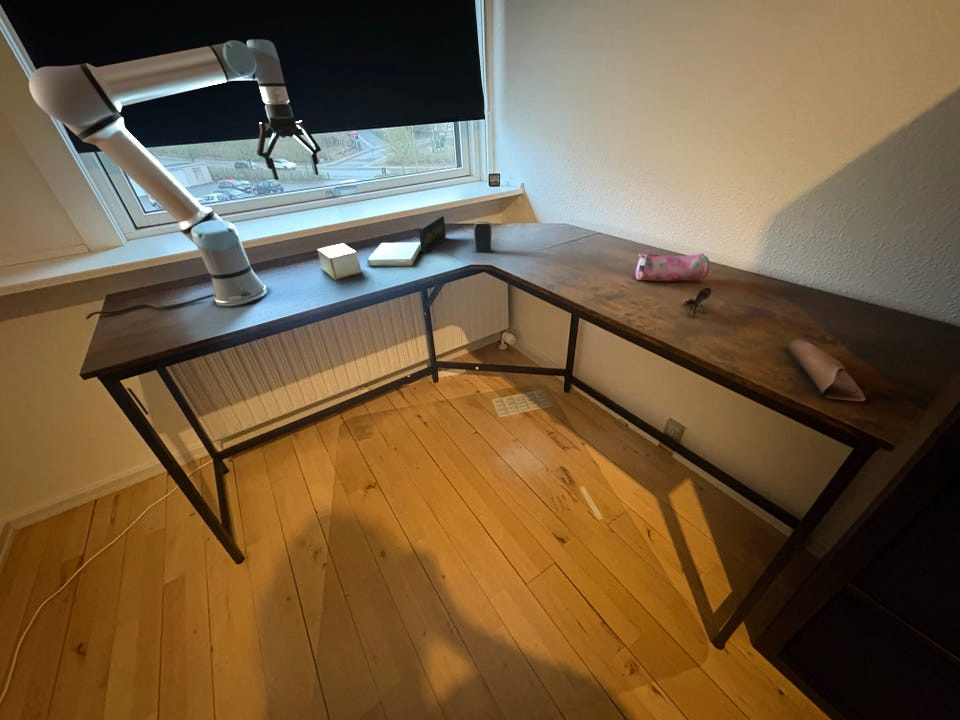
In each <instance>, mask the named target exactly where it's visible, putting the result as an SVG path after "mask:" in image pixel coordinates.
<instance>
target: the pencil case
mask: <svg viewBox="0 0 960 720" xmlns="http://www.w3.org/2000/svg"><path fill="white" fill-rule="evenodd" d="M637 256H638V262H637V265H636V269H635V279H636V280H638V281H654V282H678V281H687V282H691V281H694V282H699V283H702V282H703V281H704V280H705V279H706V278H707V276H708V274H709V271H710V260H709V257H708V256H707V255H705V254H704V253H697V254H690V255H669V254H668V255H666V254H658V253H652V252H648V253H646V252H645V253H638V254H637Z"/></svg>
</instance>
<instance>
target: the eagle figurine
mask: <svg viewBox="0 0 960 720" xmlns="http://www.w3.org/2000/svg"><path fill="white" fill-rule="evenodd" d="M711 294H712V289H711V287H705V288H703V289H701V290H700V291H698V292H697V294H696V296H695V298H693V297H691V298H687V299H685V300H683V301H682V305H683V306H685V305H688V306H689V307H690V308H689V309H688V311H691V313H690V315H689V316H690V317H692V316H694V315H695V314H696V313H697V312H698V311H699V312H701V313H703V309H707V308H709V307H710V306H711V304H707V305H705V306H703V303H702V302H703V301H705V300H707V299H709V298H710V296H711Z"/></svg>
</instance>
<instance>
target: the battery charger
mask: <svg viewBox="0 0 960 720" xmlns="http://www.w3.org/2000/svg"><path fill="white" fill-rule="evenodd" d="M473 235H474V236H473V237H474V251H475V252H477V253H479V252H480V253H490V252H492V236H493V229H492V224H491V222H488V221H479V222H476V223H475V224H474V227H473Z"/></svg>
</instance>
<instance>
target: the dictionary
mask: <svg viewBox="0 0 960 720" xmlns="http://www.w3.org/2000/svg"><path fill="white" fill-rule="evenodd" d="M317 253H318V257H319V261H320V264H321V268H322V271H324V272H325V273H326V274H327V275H329V276H330V277H331V278H332V279H334V280H335V281H337V280H341V279H343V278H347V277H351V276H355V275H357V274H362V270H361V265H360V260H359V255H358V251H356V250H355V249H353V248H352V247H350V246H348V245H347V244H345V243H339V244H335V245H330V246H325V247H321V248H317Z"/></svg>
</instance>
